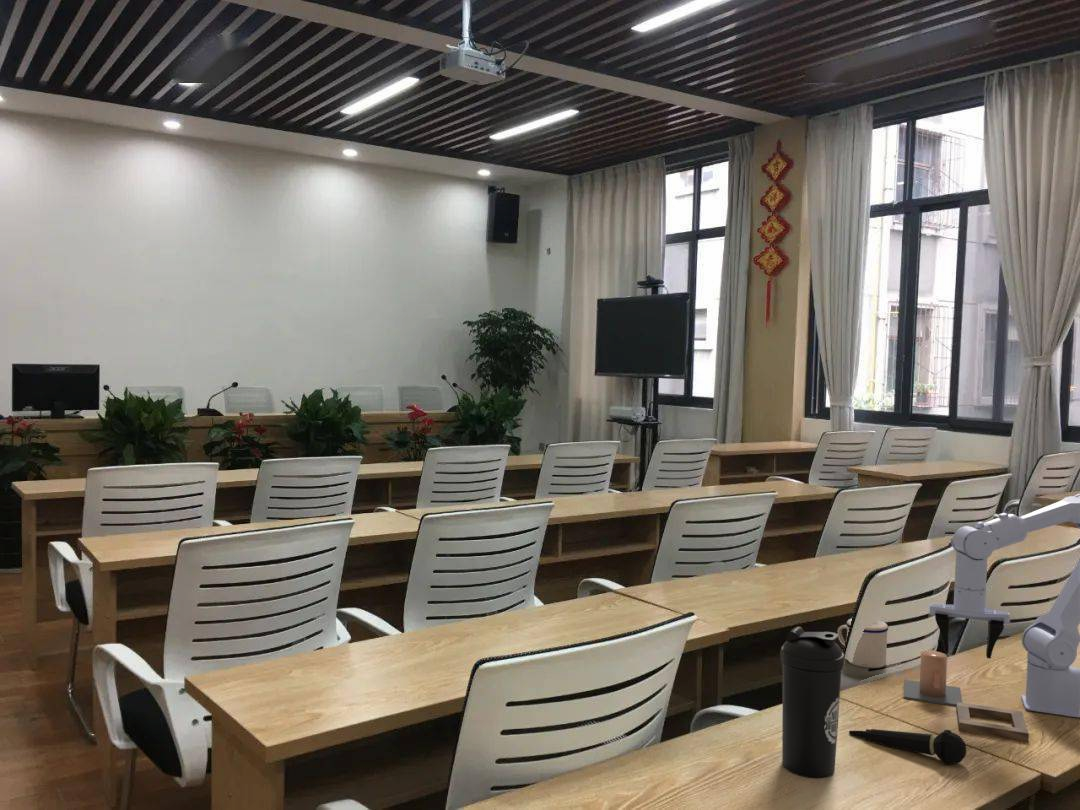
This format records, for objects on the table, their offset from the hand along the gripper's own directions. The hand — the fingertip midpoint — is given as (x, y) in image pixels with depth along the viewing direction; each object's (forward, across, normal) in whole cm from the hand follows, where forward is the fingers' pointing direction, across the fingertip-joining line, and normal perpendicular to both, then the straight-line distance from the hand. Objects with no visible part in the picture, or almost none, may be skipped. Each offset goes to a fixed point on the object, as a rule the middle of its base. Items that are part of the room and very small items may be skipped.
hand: (967, 654), depth 180 cm
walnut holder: (+10, -4, +9) cm, 14 cm away
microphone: (+11, +10, +28) cm, 32 cm away
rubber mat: (+10, +6, -4) cm, 13 cm away
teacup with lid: (+11, +21, -20) cm, 31 cm away
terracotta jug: (+10, +6, -4) cm, 12 cm away
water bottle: (+11, +26, +43) cm, 51 cm away
